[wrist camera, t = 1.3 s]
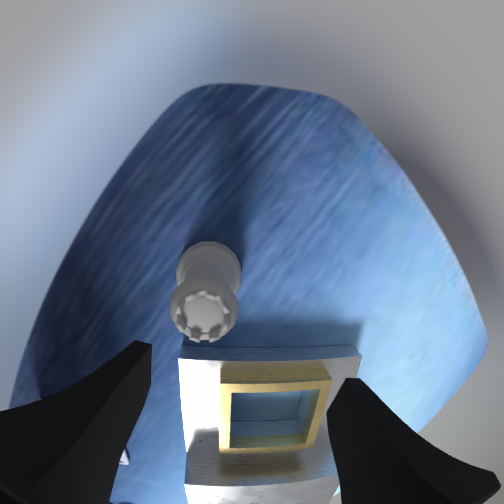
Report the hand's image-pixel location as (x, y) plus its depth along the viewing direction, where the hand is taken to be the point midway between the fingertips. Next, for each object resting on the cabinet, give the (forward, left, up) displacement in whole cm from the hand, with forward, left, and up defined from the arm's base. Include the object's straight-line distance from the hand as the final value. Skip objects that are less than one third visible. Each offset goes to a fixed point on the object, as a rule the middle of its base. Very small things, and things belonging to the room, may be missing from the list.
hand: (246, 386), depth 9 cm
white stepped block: (+3, -15, -11) cm, 19 cm away
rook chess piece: (-2, +1, -11) cm, 12 cm away
